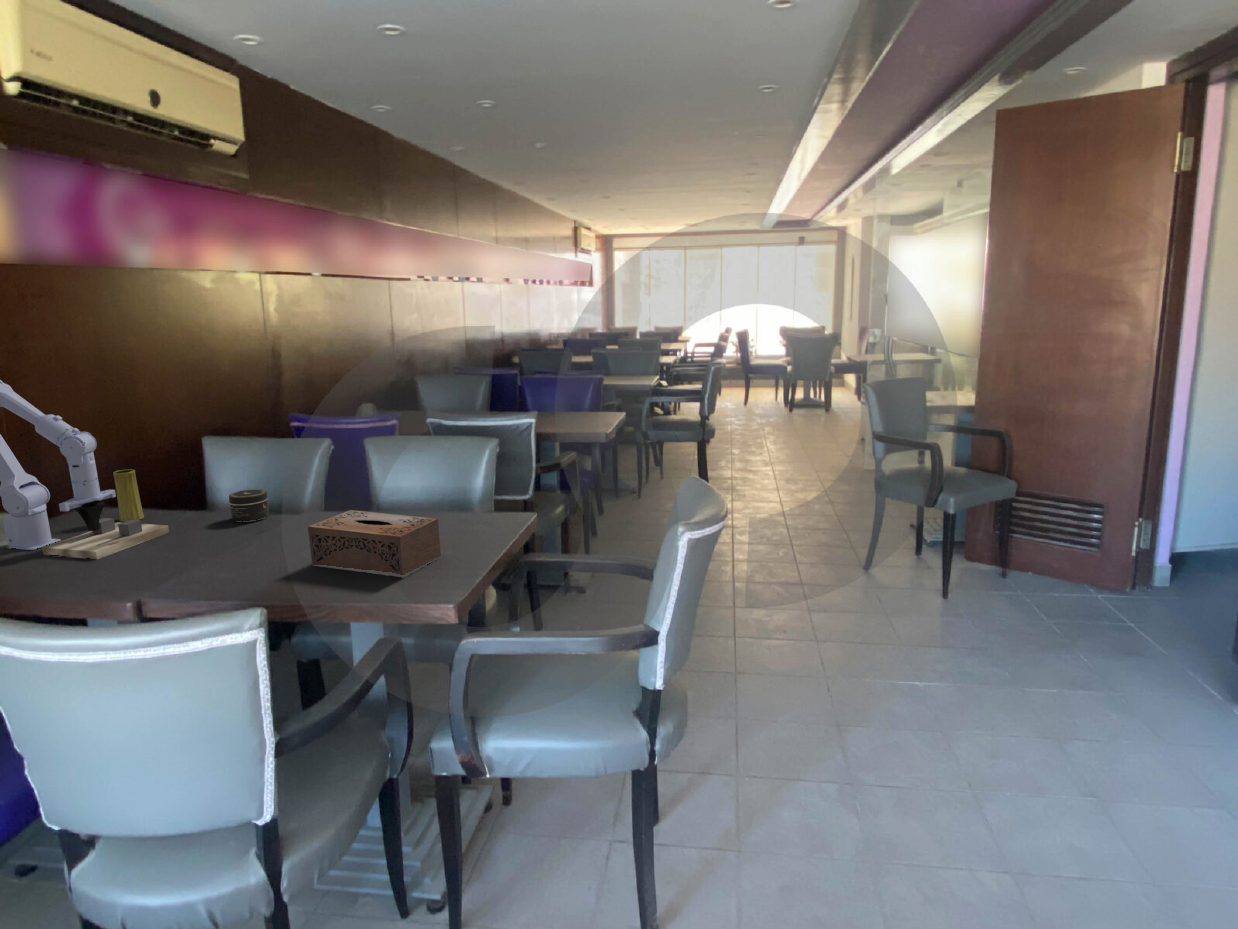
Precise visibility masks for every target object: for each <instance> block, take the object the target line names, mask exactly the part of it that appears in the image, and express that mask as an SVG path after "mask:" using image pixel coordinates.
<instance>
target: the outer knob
mask: <svg viewBox="0 0 1238 929" xmlns="http://www.w3.org/2000/svg"><path fill="white" fill-rule="evenodd" d="M141 520H142V519H140V520H129V521H126V522H121V523H120V524H118V528H119V534H120V535H124V536H131V535H134V534H136V533H139V532H142V525H141V524H142V521H141Z"/></svg>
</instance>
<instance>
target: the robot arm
mask: <svg viewBox="0 0 1238 929" xmlns="http://www.w3.org/2000/svg"><path fill="white" fill-rule="evenodd" d="M0 408H4V409H6V410H8V411H10V412H12V413H13V414H15V415H17V416H18V417H20V418H22V419H24V420H25V421H27V422H29V423H31V424H32V425H34V429H35V432H36V433H37V434H38V435H41V436H42V437H43V438H45V439H46V440H47V441H50V442H51V443H52V444H54V445H56V446H57V447H59V451H60V453H61V455H62V456H64V458H65V459H66V463H67V464H68V470H69V475H70V482H71V485H72V491H73V498H70V499H68V500H65V501H63V502H61V503H58V507H59V512H69V511H70V510H73V509H74V511H75V512H76V513H77V514H78V515H79V516H80V517H81V519H82V520H83V521H84V523H85V524H86V528H87V529H88V532H90V531H97V530H98V526H99V519H101V515H102V512H103V510H104V508H105V502H104V501H103V500H107V499H110V498H111V499H112V498H116V497H117V493H116V489H106V490H101V488H100V482H99V478H98V471H97V465H96V460H95V455H94V454H95V453H94V452H95V451H96V449H97V445H98V443H97V439H96V438H95V437H94V435H92V433H91V432H88V431H80V430H79V429H78V428H77V427H73V426H71V425H70V424H68V423H67V422H65V421H64V420H63V417H61V416H60V415H54V414H52V413H51V414H45V413H44V412H42V411H41V410H40V409H38V408H37V407H35V405H32V404H31V403H30V402H29V401H27V400H26V399H25V398H23V397H22V396H20V395H19V393H16V392H15V391H14V390H13V388H12V387H11V385H9V384H8V383H4V382H3V381H2V380H1V379H0ZM0 498H1V503H2V506H3V509H4V510H5V511H6V512H7V513H8V514H7V515H6V516H5V519H4V520H3V526H4V532H5V538H6V541H7V542H8V543H7V545H8V544H10V545H11V546H10V547H9V548H8V549H11V548H16V549H15V550H26V551H34V550H37V548H38V549H40V548H41V549H42V547H45V546H46V545H47V546H48V545H49V544H50V545H51V544H54V543H55V542H56V543H57V542H58V541H59V542H60V541H62V540H61V539H60V538H52V533H51V529H50V523H49V517H48V512H47V504H48V503H49V501H50V498H51V493H50V491H49V489H48V488H47V487H46V486H45V485H43V484H42V483H41V482H39V480H38V478H37V477H36V476H34V475H32V474H29V473H27V472H26V471H25V469H24V468H23V467H22V465H21V464H20V462H19V460H18V459H17V458H16V456H15V455H14V453H13V451H12V450H11V448H10V447H9V445H8V444H7V442H6V441H5V439H4V438H3V436H2V435H1V433H0Z"/></svg>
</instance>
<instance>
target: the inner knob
mask: <svg viewBox="0 0 1238 929" xmlns="http://www.w3.org/2000/svg"><path fill="white" fill-rule="evenodd" d="M115 523H116V522H115V519H114V518H113V517H112V518H111V517H109V518H108V517H103V518H100V519H99V526H98V530H97V531H93V533H98V534H103V533H106V532H109V531H112V530H115V529H116V528H115Z"/></svg>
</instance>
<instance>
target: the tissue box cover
mask: <svg viewBox="0 0 1238 929" xmlns="http://www.w3.org/2000/svg"><path fill="white" fill-rule="evenodd" d="M439 525H440V524H439V518H436V517H435V518H433V517H425V516H424V517H423V516H415V515H405V514H394V513H384V512H383V513H382V512H375V511H373V512H372V511H363V510H354V509H349V510H346V511H344V512H341V513H339V514H337V515H334V516H331V517H328V518H326V519H323V520H320V521H318V522H316V523H313V524H310V525H308V526H307V531H308V532H307V534H308V540H309V549H310V557H311V566H312V565H327V566H336V567H343V568H354V569H361V570H375V571H382V572H392V573H396V574H400V575H405V574H406V573H408V572H411V571H413V570H414V569H416V568H419V567H420V566H422V565H425V564H426V563H428V562H430V561H433V560H434V559H435V558H438V557H440V556H441V557H442V551H441V542H440V541H441V540H440V530H439V529H440V527H439Z"/></svg>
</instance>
